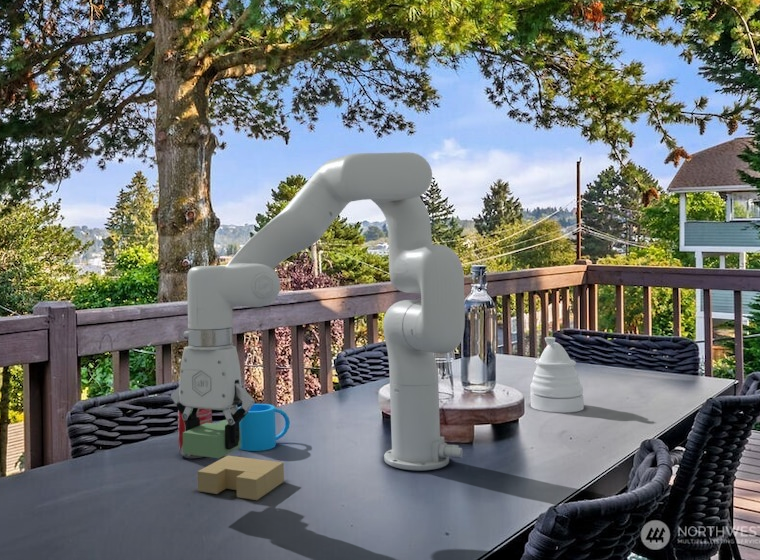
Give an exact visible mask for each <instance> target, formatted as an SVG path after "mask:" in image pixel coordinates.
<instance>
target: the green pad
mask: <svg viewBox="0 0 760 560" xmlns="http://www.w3.org/2000/svg"><path fill="white" fill-rule="evenodd" d="M227 424H228V422H227V420H226V419H225V420H224V419H223V420H220V421H219V422H217V423H213V422H212V423H204V424H202V425H200V426H197V427H195V428H192V429H190V430H188V431H185V432H183V454H189V455H197V456H204V457H205V458H212V459H213V458H214V459H221V458H223V457H225V456H227V455H228V454H230V453H232V452H234V451H235V450H238V449H240V447H241V426H239V436H240V439H239V444H238V446H236V447H234V448H232V449H230V450H228V449H226V448H225V425H227ZM204 457H203V458H204Z"/></svg>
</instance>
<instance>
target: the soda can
mask: <svg viewBox="0 0 760 560" xmlns="http://www.w3.org/2000/svg"><path fill="white" fill-rule="evenodd" d="M212 413H213V410H212V409H201V408H200V409H199V411H198V414H197V417H199V419H200V425H202V424H204V423H213V417H212V416H213V414H212ZM185 431H186V425H185V420H183V419H182V414H181V413H180V412H179V410H178V409H177V437H178V438H177V439H178V440H177V441H178V451H179V454H180V455H181V456H183V457H184V458H186V459H199V458H200V459H201V458H204V456H197V455H189V454H183V432H185Z"/></svg>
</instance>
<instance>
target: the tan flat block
mask: <svg viewBox="0 0 760 560" xmlns="http://www.w3.org/2000/svg"><path fill="white" fill-rule="evenodd" d="M284 465H285V464H284V462H283V461H277V460H275V461H274V460H267V459H260V458H252V457H244V456H243V457H242V456H234V455H225V456H223V457H221V458H219V459H218V460H216V461H214V462H212V463H211V464H209V465H207V466H205V467H203V468H201V469H199V470H197V491H198V492H201V493H208V494H214V495H218V494H219V493H221V492H223V491H224V490H226V489H228V490H233V491H236V497H237V498H240V499H247V500H253V501H258V500H259V499H261V498H262V497H264V496H265V495H267V494H268V493H270V492H271V491H273V490H275V489H276V488H277V487H278V486H280V485H282V484H283V483H284V482H285V474H284V473H285V471H284V469H285V467H284Z"/></svg>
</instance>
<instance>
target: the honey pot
mask: <svg viewBox="0 0 760 560" xmlns="http://www.w3.org/2000/svg"><path fill="white" fill-rule="evenodd" d="M544 341H545V344H547V345H546V346H545V348H544V349H543V350H542V353H541V354H540V357H539V358H537V359H536V360H535V361H534V363H535V364H536V368H535V370H534V372H533V376H532V381H531V383H530V385H529V389H530V390H529V391H530V393H529V395H530V407H531V408H533V409H535V410H538V411H542V412H549V413H564V414H565V413H577V412H581V411H583V410H584V408H585V406H584V404H585V403H584V388H583V385H582V384H581V381H580V379H579V374H578V372H577V371H576V368H575V366H576V365H577V362H576V360H575V359H571V358H570V356H569V354H568V352H567V350H566V349H565V348H564V347H563V345H562V344H560V343H559V342H556V337H554V336H553V337H552V336H547V337H544Z"/></svg>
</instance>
